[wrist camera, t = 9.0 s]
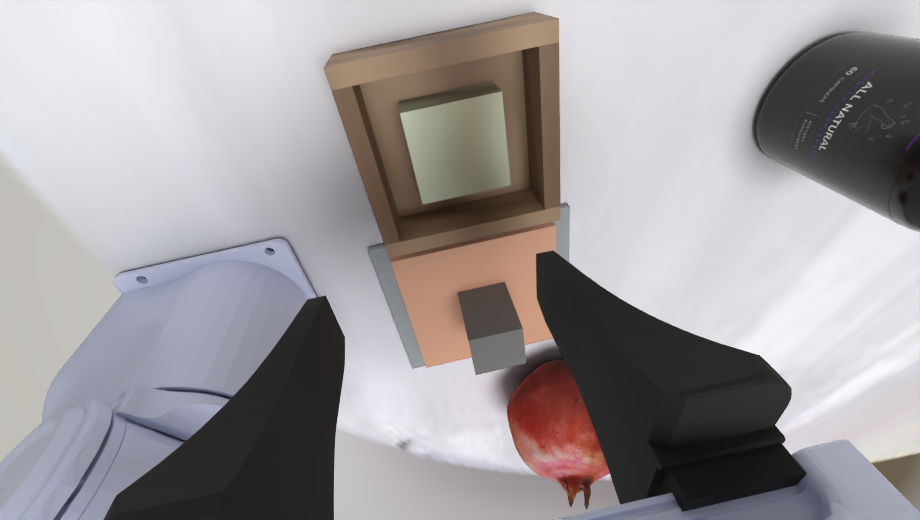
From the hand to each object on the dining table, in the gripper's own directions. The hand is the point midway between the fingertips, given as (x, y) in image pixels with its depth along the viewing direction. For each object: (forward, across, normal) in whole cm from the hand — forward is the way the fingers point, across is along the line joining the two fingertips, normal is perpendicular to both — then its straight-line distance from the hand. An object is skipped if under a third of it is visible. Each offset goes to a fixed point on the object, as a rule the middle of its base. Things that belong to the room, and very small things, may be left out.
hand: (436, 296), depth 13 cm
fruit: (+10, -7, +20) cm, 23 cm away
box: (+9, -2, -2) cm, 10 cm away
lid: (+9, -2, +9) cm, 13 cm away
